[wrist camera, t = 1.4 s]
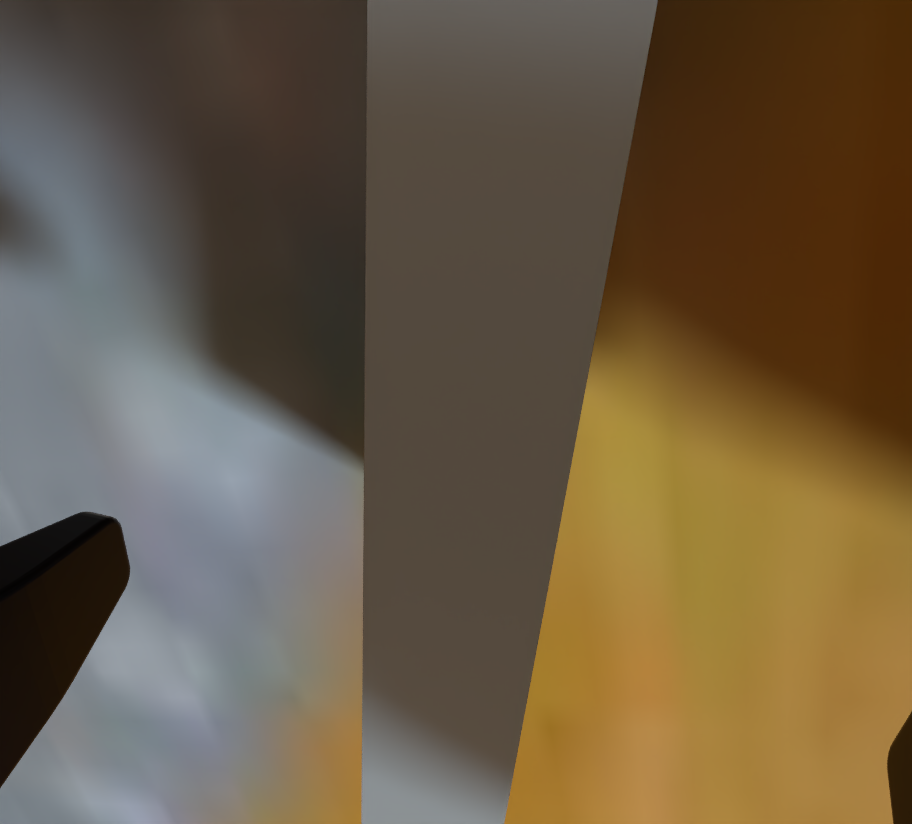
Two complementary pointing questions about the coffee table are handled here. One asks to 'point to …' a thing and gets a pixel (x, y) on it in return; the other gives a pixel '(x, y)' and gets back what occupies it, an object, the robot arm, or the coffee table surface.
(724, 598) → the coffee table surface
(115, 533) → the robot arm
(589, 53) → the tapered grey plank
